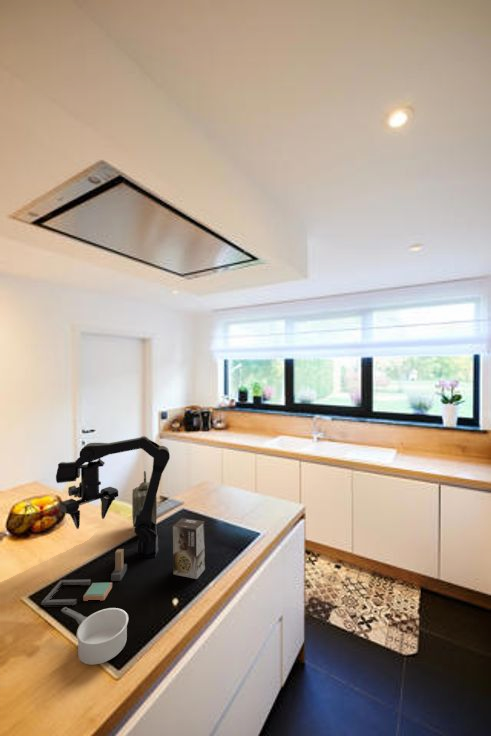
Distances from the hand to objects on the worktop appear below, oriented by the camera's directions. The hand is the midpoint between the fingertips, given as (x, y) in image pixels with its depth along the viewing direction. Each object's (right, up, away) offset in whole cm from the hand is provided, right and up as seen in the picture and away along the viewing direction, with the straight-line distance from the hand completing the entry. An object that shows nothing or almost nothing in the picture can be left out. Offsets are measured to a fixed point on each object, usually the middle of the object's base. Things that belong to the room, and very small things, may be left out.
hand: (90, 523), depth 113 cm
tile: (+11, -13, -17) cm, 24 cm away
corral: (+2, -13, -17) cm, 22 cm away
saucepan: (+17, -13, -35) cm, 41 cm away
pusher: (+14, -13, -8) cm, 21 cm away
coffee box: (+36, -13, -7) cm, 39 cm away
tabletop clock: (+12, -15, +23) cm, 30 cm away
